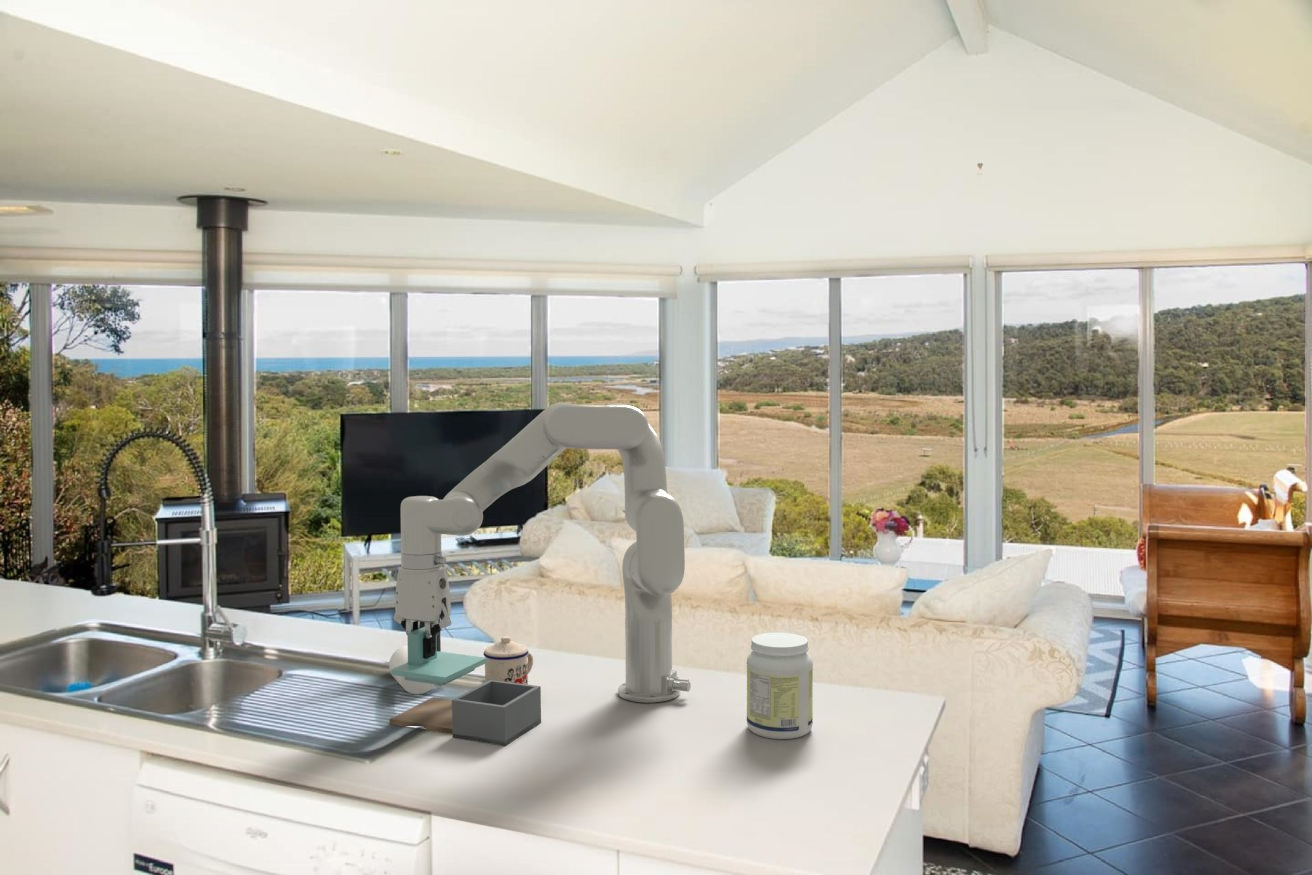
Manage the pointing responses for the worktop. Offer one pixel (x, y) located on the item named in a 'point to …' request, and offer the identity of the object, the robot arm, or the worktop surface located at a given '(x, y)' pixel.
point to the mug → (410, 686)
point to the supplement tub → (779, 686)
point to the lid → (434, 663)
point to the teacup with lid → (508, 662)
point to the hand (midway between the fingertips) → (422, 655)
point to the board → (428, 715)
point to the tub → (496, 712)
